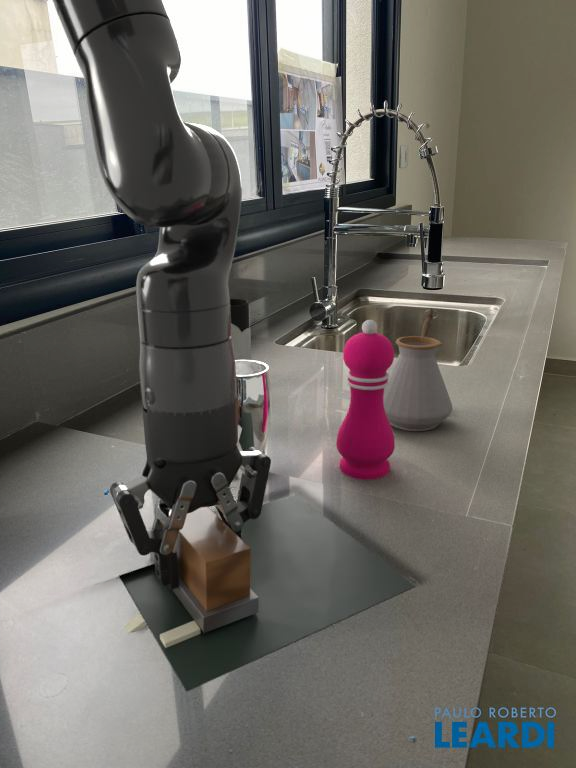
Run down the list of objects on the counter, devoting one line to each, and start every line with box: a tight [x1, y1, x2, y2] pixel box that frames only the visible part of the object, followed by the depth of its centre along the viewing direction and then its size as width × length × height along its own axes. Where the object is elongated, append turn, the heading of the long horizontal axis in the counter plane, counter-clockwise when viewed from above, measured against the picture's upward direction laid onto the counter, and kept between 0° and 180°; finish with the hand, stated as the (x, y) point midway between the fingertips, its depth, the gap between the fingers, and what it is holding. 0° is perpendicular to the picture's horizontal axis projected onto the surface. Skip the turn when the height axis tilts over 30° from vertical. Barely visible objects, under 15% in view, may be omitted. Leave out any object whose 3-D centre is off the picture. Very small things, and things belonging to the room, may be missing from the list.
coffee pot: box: [383, 307, 453, 432], centre depth 95 cm, size 21×12×15 cm, turn 160°
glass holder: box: [230, 298, 252, 360], centre depth 113 cm, size 9×14×15 cm, turn 162°
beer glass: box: [229, 359, 272, 490], centre depth 72 cm, size 7×7×15 cm
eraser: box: [149, 503, 259, 633], centre depth 53 cm, size 5×12×6 cm, turn 32°
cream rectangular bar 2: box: [123, 612, 148, 634], centre depth 49 cm, size 3×1×1 cm, turn 126°
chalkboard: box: [118, 493, 416, 692], centre depth 57 cm, size 22×20×1 cm
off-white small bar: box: [160, 621, 201, 648], centre depth 48 cm, size 3×1×1 cm, turn 122°
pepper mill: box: [335, 319, 396, 481], centre depth 73 cm, size 7×7×20 cm
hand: (200, 572), depth 54 cm, fingers closed on eraser, 5 cm apart
